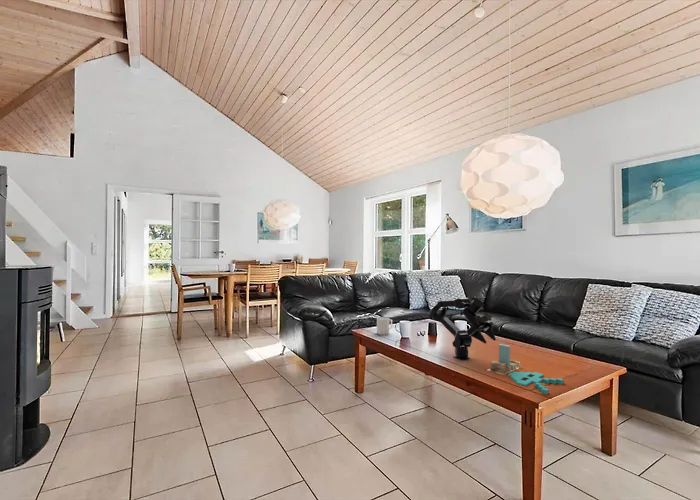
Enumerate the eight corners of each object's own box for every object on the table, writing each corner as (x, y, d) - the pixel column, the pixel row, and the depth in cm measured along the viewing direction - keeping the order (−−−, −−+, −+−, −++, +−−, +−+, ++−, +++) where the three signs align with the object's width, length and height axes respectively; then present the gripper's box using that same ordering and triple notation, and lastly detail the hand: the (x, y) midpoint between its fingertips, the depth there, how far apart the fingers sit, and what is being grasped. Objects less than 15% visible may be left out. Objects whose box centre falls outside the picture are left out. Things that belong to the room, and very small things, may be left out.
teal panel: (498, 367, 190) (498, 344, 190) (500, 366, 191) (500, 343, 191) (508, 370, 186) (508, 346, 186) (509, 369, 187) (510, 345, 187)
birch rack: (486, 371, 186) (486, 365, 186) (504, 364, 198) (504, 358, 198) (503, 376, 179) (503, 369, 179) (521, 369, 191) (521, 362, 191)
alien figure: (563, 384, 172) (520, 372, 187) (563, 379, 172) (520, 368, 187) (546, 395, 159) (501, 382, 174) (546, 390, 159) (501, 377, 174)
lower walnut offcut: (490, 369, 187) (490, 365, 187) (494, 368, 189) (494, 364, 189) (503, 373, 181) (503, 369, 181) (507, 371, 184) (507, 367, 184)
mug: (380, 335, 258) (380, 320, 258) (374, 333, 266) (374, 317, 266) (395, 334, 264) (395, 318, 264) (388, 331, 272) (388, 316, 272)
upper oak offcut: (491, 366, 186) (491, 362, 186) (494, 364, 189) (494, 360, 189) (503, 369, 182) (503, 365, 182) (506, 367, 185) (506, 363, 185)
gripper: (472, 310, 192) (491, 335, 184) (491, 306, 204) (510, 330, 196) (458, 323, 198) (477, 348, 190) (477, 318, 210) (496, 342, 202)
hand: (490, 341), depth 194 cm, fingers open, 9 cm apart
